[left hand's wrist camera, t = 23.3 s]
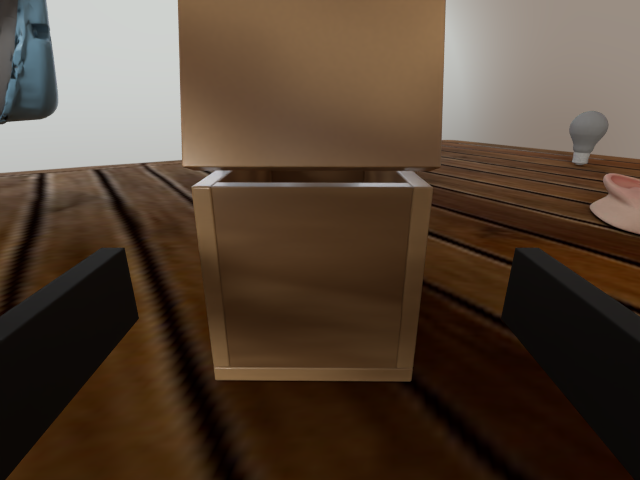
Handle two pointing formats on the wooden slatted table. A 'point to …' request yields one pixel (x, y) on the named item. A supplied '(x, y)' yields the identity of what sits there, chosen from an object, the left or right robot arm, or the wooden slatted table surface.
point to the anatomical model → (620, 203)
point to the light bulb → (587, 134)
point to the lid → (311, 84)
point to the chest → (312, 272)
